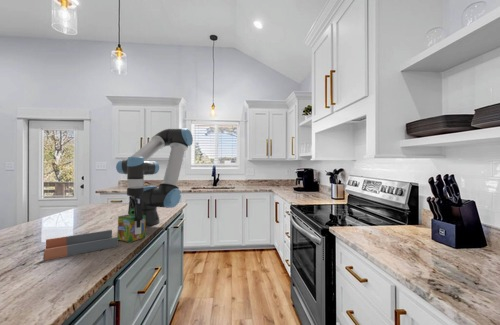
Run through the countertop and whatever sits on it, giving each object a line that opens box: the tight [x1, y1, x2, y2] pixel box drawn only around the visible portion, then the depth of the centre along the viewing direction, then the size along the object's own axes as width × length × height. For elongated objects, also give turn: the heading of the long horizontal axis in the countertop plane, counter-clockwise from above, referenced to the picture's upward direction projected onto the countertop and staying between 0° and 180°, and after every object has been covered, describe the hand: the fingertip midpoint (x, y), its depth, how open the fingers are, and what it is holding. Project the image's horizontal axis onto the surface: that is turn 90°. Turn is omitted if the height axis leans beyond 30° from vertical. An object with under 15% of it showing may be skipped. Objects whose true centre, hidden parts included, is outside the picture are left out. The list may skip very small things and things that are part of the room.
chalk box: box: [117, 208, 146, 243], centre depth 117 cm, size 9×9×15 cm
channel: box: [43, 229, 119, 261], centre depth 105 cm, size 25×16×4 cm, turn 129°
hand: (134, 231), depth 118 cm, fingers closed on chalk box, 11 cm apart
